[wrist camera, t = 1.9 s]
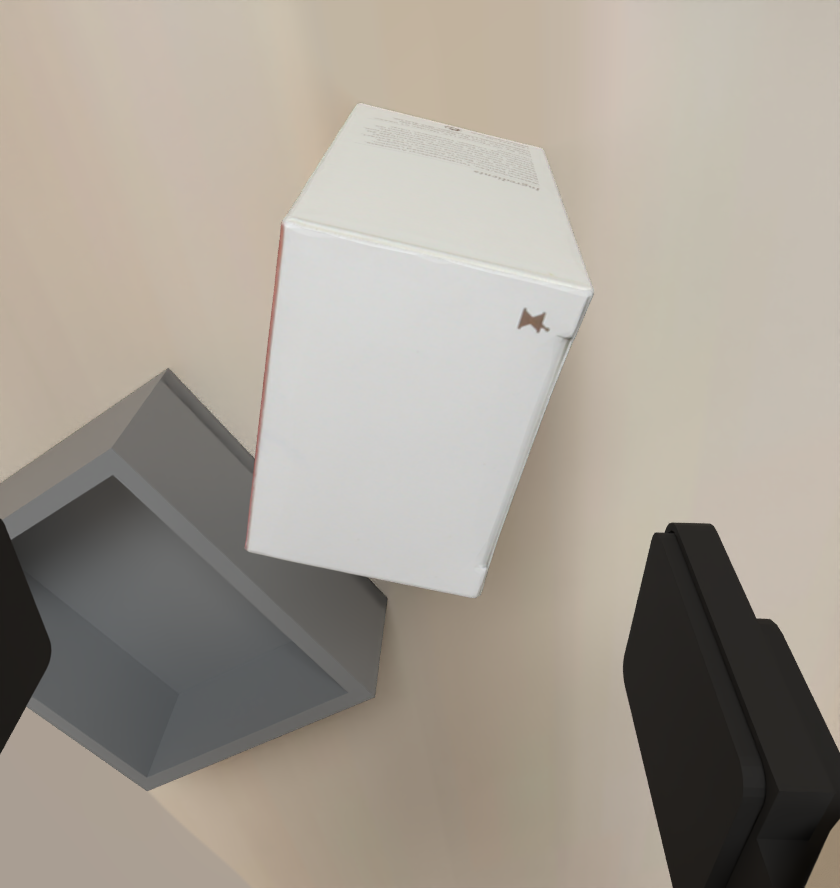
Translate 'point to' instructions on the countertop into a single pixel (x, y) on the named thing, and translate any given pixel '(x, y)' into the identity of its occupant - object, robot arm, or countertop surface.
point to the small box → (411, 351)
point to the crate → (177, 595)
